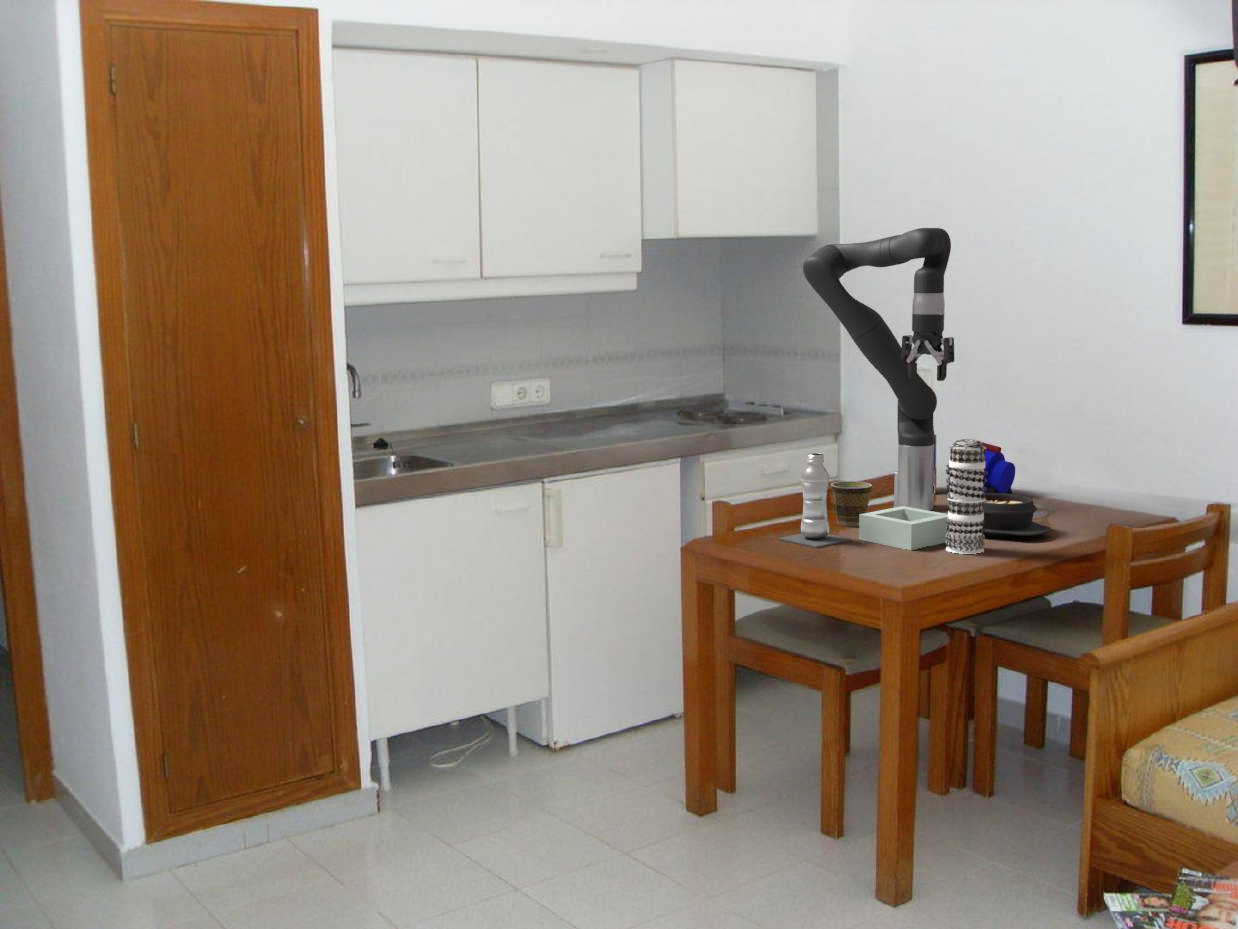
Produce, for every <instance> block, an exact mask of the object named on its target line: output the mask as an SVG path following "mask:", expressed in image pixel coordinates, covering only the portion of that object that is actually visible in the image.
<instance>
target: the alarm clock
mask: <svg viewBox="0 0 1238 929" xmlns="http://www.w3.org/2000/svg"><path fill="white" fill-rule="evenodd" d="M981 442H982V444H983V446H984V447H986V448H987V449H985V468H984V470H985V471H986V472H988V475H986V476H985V478H986V479H987V480H988V481H987V482H986V483H985V482H984V483H983V486H984V487H986V488H987V490H986V491H985V492H983V493H1005V494H1013V491H1012V486H1013V484H1014V480H1015V477H1016V465H1015V463H1013V462H1010V461H1008V460H1006V457H1005V455H1004V453H1003V452H1002V447H1001V446H997V445H994V444H991V443H987V442H984V441H981Z"/></svg>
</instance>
